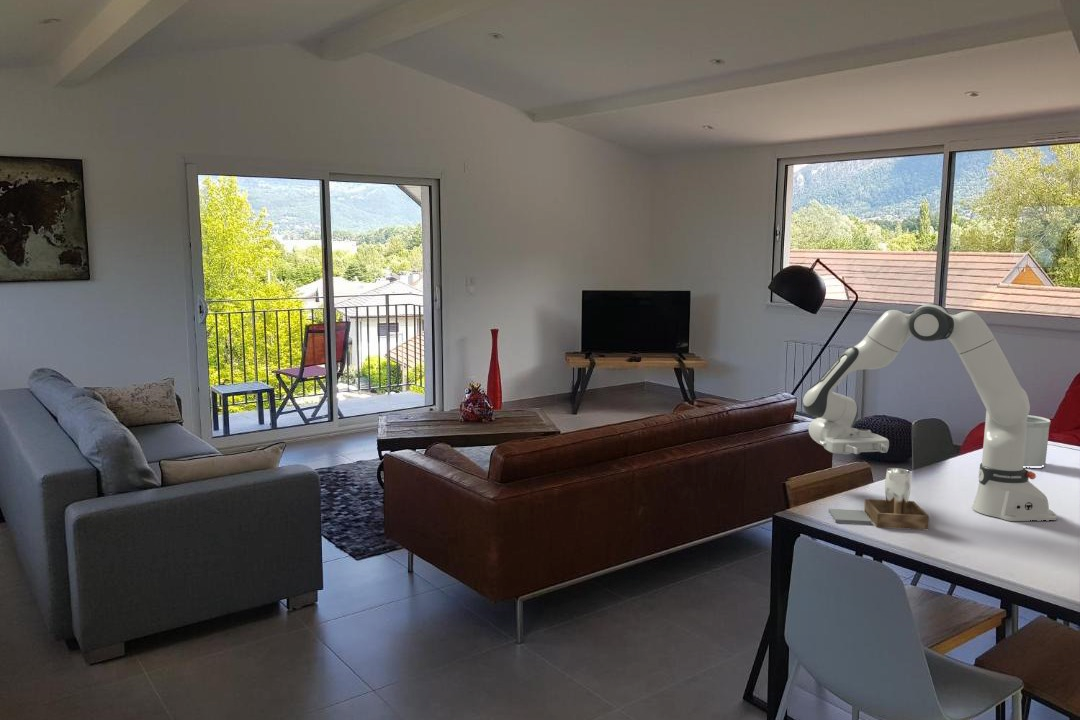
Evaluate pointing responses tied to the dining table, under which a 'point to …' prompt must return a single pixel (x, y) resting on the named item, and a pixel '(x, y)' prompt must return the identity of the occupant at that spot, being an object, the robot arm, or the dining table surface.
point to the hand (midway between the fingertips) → (872, 450)
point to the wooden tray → (896, 515)
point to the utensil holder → (1036, 441)
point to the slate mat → (849, 516)
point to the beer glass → (897, 490)
